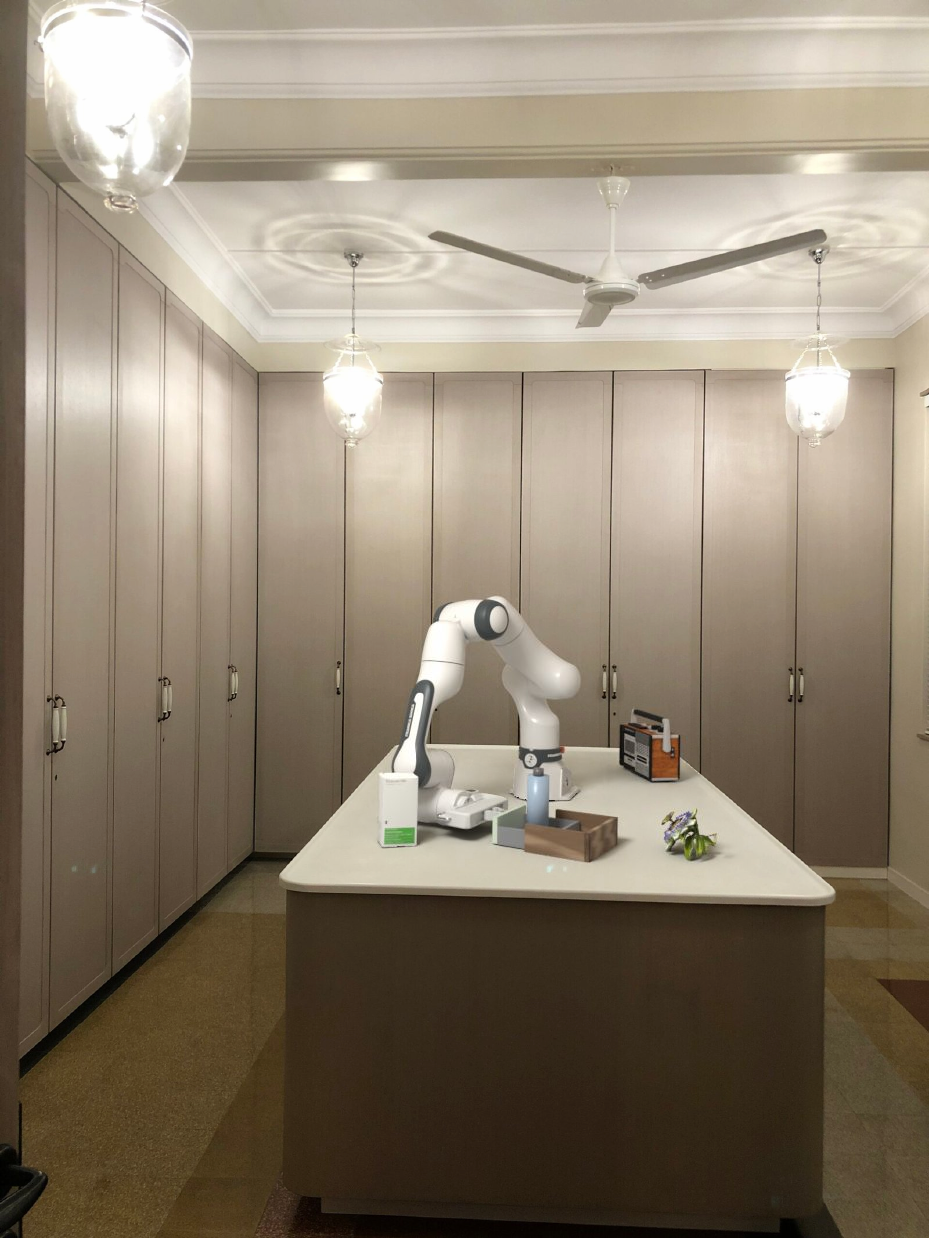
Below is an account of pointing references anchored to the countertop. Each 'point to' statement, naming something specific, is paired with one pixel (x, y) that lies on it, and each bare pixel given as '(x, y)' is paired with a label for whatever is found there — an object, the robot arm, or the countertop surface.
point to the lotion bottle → (538, 798)
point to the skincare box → (397, 809)
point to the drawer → (521, 826)
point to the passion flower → (681, 829)
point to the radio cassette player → (650, 748)
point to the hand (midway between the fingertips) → (507, 815)
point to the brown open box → (573, 836)
